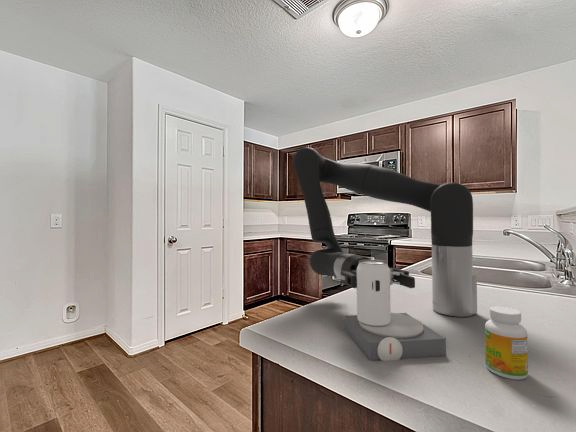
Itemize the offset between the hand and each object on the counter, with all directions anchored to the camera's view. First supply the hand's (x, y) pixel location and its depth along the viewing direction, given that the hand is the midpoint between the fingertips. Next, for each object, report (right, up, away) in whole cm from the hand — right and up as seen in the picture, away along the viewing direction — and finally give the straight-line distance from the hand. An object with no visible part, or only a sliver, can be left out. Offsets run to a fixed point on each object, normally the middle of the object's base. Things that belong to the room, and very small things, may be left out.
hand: (396, 284), depth 55 cm
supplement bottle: (+14, -12, -10) cm, 21 cm away
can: (-4, -8, +2) cm, 9 cm away
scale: (0, -12, +2) cm, 12 cm away
